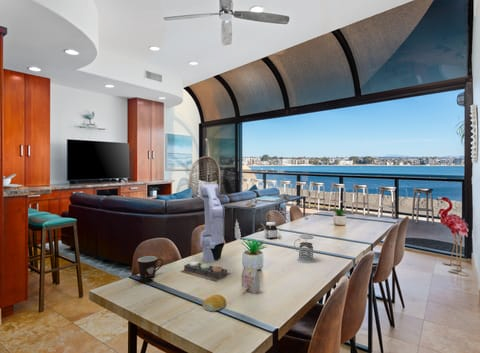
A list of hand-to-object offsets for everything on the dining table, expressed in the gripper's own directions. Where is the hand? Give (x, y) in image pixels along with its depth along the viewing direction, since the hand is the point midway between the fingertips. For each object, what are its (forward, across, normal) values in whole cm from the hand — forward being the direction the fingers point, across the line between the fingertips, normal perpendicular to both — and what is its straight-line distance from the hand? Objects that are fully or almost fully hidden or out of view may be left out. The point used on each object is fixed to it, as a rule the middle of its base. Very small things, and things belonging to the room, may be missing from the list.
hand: (217, 259), depth 138 cm
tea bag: (+10, +8, +18) cm, 22 cm away
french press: (+10, -39, +39) cm, 56 cm away
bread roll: (+10, +26, +8) cm, 29 cm away
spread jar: (+10, -86, +14) cm, 88 cm away
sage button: (+6, -2, -7) cm, 10 cm away
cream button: (+6, -5, -14) cm, 16 cm away
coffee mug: (+10, +9, -30) cm, 33 cm away
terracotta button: (+6, 0, 0) cm, 6 cm away
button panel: (+9, -2, -7) cm, 12 cm away
